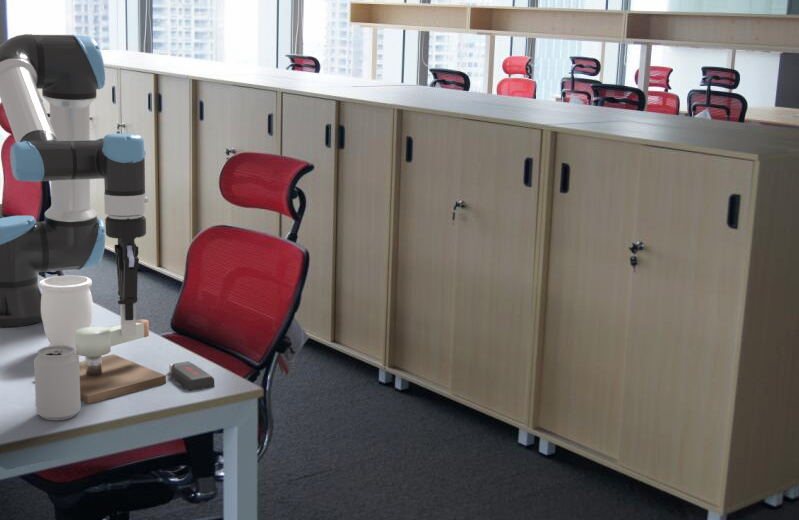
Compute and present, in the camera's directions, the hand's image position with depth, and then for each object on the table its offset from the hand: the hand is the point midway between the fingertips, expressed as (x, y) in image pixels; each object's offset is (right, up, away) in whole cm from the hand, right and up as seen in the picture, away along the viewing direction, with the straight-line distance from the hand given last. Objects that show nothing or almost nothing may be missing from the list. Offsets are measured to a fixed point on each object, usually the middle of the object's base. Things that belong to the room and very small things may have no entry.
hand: (128, 334), depth 205 cm
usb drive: (+12, -9, +1) cm, 15 cm away
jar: (-17, -5, +17) cm, 24 cm away
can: (-7, -13, -19) cm, 24 cm away
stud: (-6, -7, -2) cm, 10 cm away
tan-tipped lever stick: (-3, -2, +1) cm, 4 cm away
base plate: (-5, -9, -2) cm, 10 cm away
